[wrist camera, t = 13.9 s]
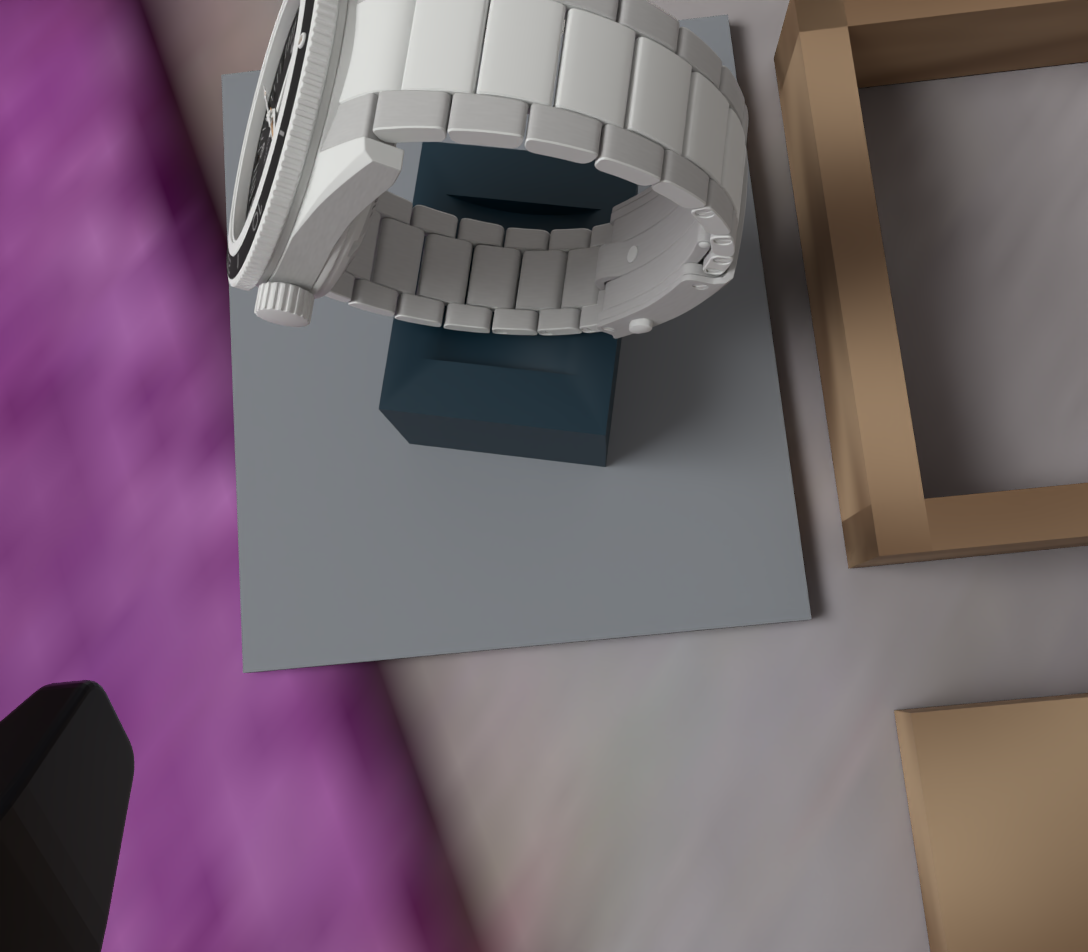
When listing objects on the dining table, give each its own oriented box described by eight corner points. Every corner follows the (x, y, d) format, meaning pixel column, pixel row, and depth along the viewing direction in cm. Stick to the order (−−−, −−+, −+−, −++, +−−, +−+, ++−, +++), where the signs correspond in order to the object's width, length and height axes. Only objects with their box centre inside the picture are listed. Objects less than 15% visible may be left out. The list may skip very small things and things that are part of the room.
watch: (362, 200, 24) (157, -191, 13) (714, 235, 23) (809, -145, 12) (322, 437, 23) (61, 229, 12) (687, 481, 22) (764, 303, 11)
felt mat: (808, 620, 22) (811, 619, 21) (249, 672, 22) (243, 672, 22) (725, 25, 24) (727, 14, 24) (227, 84, 25) (221, 75, 24)
